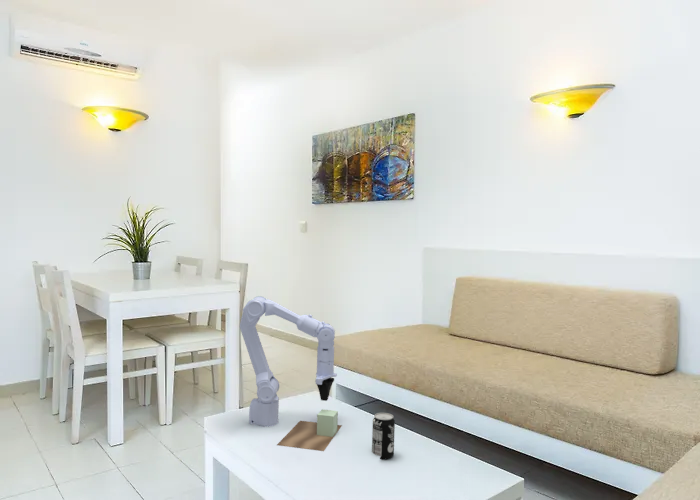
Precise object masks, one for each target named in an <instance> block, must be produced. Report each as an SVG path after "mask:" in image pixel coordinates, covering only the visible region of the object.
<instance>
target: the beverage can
mask: <svg viewBox="0 0 700 500" xmlns="http://www.w3.org/2000/svg"><path fill="white" fill-rule="evenodd" d="M395 425H396V421H395V418H394V415H393V414H391V413H388V412H377V413H375V414H374V417H373V419H372V432H371V433H372V435H371V438H372V439H371V453H372V454H373V455H375V456H379V460H389V459H391V458H392V457H393V456H394V454H395V428H396V427H395Z"/></svg>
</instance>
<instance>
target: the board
mask: <svg viewBox="0 0 700 500" xmlns="http://www.w3.org/2000/svg"><path fill="white" fill-rule="evenodd" d="M341 427H343V425H342V424H338V425H337V432H336V433H335V435H334V436H333V437H329V436H321V435H317V421H316V422H314V421H307V420H299V421H298V422H297V423H296V424H295V425H294V426H293V427H292V429H290V430H289V431H288V432H287V433H286V435H285V436H284V437H283V438H281V440H280V441H279V442H278V443H277V444H276V446H280V447H286V448H287V447H289V448H295V449H302V450H303V449H305V450H311V451H320V452H324V451H326V449H327V447H328V446H329V444H330V443H331V442H332V441H333V439H334V438H335V436H336V435H337V433H338V432H339V430H340V429H341Z"/></svg>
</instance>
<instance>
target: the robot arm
mask: <svg viewBox="0 0 700 500" xmlns="http://www.w3.org/2000/svg"><path fill="white" fill-rule="evenodd" d="M263 315H264V316H265V317H267V316H277V317H278V318H281V319H283V320H285V321H287V322H290V323H292V324H294V325H295V326H296V329H297V330H298V331H301V332H303V333H304V334H307V335H308V336H311V337H313V338H317V341H318V345H317V349H316V350H317V353H316V373H315V376H316V377H315V381H314V382H315V385H316V386H317V389H318V392H319V399H320V401H325V402H327V401H328V400H329V396H330V391H331V388H332V385H333V383H334V382H335V378H336V377H337V376H338V373H335V371H334V369H335V368H334V366H335V346H334V345H335V341H334V340H335V334H336V332H335V331H336V330H335V328H334V326H332V325H331V324H330V323H326V322H325V321H324V320H322V321H320V320H318V319H316V318H314V317H313V315H312V314H310V313H309V314H301V315H300V314H298V313H296V312H294V311H293V310H290V309H289V308H287V307H285V306H283V305H281V304H280V303H278V302H276V301H274V300H272V299H269V298H266V297H264V296H261V295H260V296H259V295H258V296H255V297H253V299H251V300H249V301H248V302H246V304H245V306H244V307H243V309H242V314H241V319H240V323H239V330H240V331H241V334H242V335H241V336H242V338H243V341H244V345H245V346H246V350H247V352H248V355H249V359H250V361H251V362H250V363H251V364H252V368H253V371H254V373H255V385H256V388H257V389H256V396H257V398H252V400H251V401H250V404H249V410H248V412H249V415H248V417H249V418H248V424H249V425H255V426H256V425H257V426H261V427H274V426H276V425H277V424H279V406H280V405H279V402H280V401H279V400H280V398H279V397H278V394H277V393H278V392H279V389H280V382H279V381H278V379H277V378H275V377H276V376H275V375H274V372H273V371H272V370H271V369H270V365H269V363H268V360H267V357H266V354H265V352H264V348H263V345H262V342H261V339H260V336H259V333H258V331H257V327H256V326H257V324H258V322H259V321H260V318H261V317H262V316H263Z"/></svg>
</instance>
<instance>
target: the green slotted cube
mask: <svg viewBox="0 0 700 500" xmlns="http://www.w3.org/2000/svg"><path fill="white" fill-rule="evenodd" d="M338 415H339V411H338V410H330V409H324V408H322V409H321V410H320V411H319V412H318V413H317V414H316V417H317V418H316V419H317V420H316V422H317V435H321V436H329V437H333V436H334V435H335V433H336V432H337V425H339V424H338V418H339V417H338ZM337 433H338V432H337ZM337 433H336V434H337ZM335 436H336V435H335ZM335 436H334V437H335Z"/></svg>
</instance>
